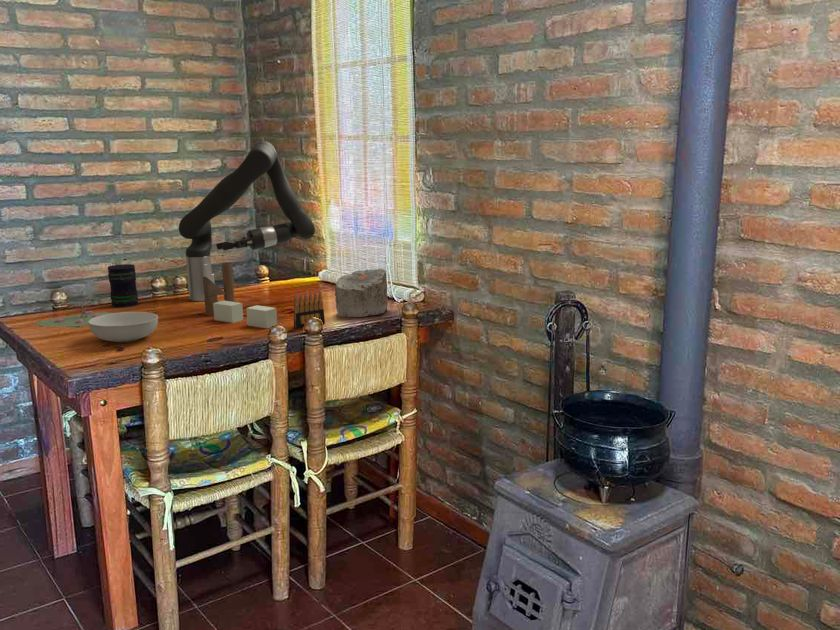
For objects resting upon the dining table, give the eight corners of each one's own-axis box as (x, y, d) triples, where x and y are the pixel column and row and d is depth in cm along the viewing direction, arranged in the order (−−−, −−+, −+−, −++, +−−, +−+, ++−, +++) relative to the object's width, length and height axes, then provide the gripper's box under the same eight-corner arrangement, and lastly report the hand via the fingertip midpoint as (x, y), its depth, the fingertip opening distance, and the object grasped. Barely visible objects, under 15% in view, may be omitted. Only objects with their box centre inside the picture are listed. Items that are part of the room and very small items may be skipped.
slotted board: (225, 317, 282) (223, 300, 281) (277, 325, 269) (276, 308, 267) (214, 319, 278) (213, 303, 277) (266, 328, 265) (265, 310, 263)
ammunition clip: (322, 322, 272) (321, 288, 269) (325, 323, 270) (323, 289, 267) (293, 327, 266) (291, 292, 263) (296, 328, 264) (294, 293, 262)
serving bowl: (159, 344, 248) (157, 322, 246) (87, 350, 242) (84, 328, 240) (160, 328, 267) (158, 308, 266) (93, 334, 261) (91, 313, 260)
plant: (37, 333, 266) (33, 306, 264) (32, 320, 284) (29, 296, 282) (115, 323, 278) (113, 298, 276) (107, 312, 295) (104, 288, 293)
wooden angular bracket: (205, 314, 286) (201, 265, 282) (233, 310, 293) (229, 262, 288) (209, 316, 283) (205, 266, 279) (237, 312, 290) (234, 263, 286)
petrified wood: (335, 319, 276) (333, 276, 273) (336, 308, 293) (334, 268, 290) (389, 317, 278) (388, 275, 274) (387, 306, 295) (386, 266, 291)
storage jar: (106, 305, 304) (101, 259, 300) (128, 301, 312) (123, 255, 307) (122, 308, 298) (117, 261, 294) (144, 303, 306) (139, 257, 302)
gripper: (254, 227, 301) (212, 236, 294) (265, 228, 289) (222, 237, 281) (258, 247, 303) (217, 256, 296) (270, 248, 290) (227, 258, 283)
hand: (219, 247), depth 289 cm, fingers open, 8 cm apart
